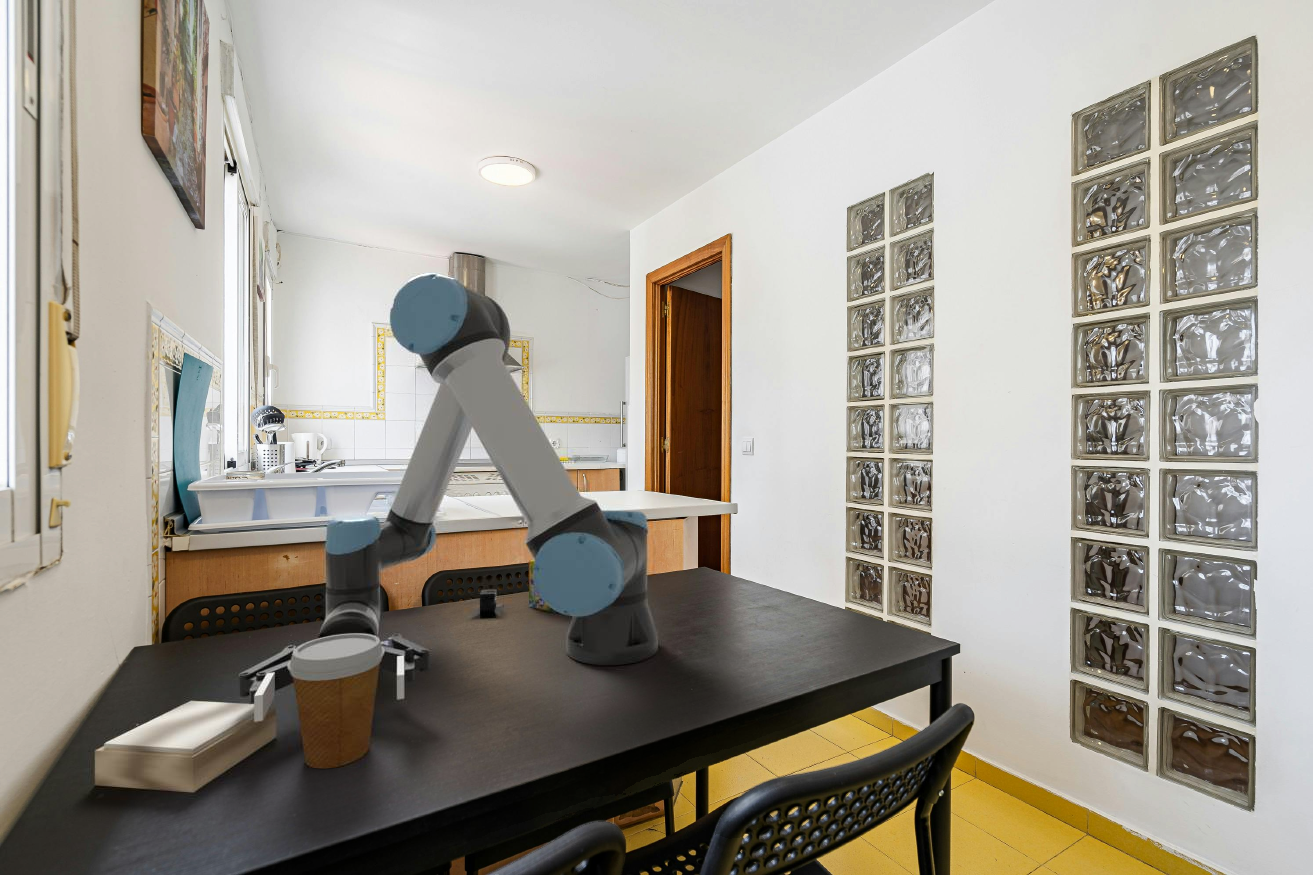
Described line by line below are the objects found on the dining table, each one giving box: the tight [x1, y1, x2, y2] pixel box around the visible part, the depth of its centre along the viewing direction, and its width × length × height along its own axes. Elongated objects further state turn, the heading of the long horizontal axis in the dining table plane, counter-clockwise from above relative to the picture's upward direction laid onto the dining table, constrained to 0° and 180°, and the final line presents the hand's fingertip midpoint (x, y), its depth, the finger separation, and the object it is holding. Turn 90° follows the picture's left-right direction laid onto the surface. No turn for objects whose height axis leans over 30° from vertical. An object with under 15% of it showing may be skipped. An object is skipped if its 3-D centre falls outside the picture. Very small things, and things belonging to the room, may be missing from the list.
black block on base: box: [471, 588, 504, 620], centre depth 122 cm, size 12×7×5 cm, turn 10°
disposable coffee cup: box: [287, 633, 384, 769], centre depth 67 cm, size 10×10×12 cm
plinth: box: [94, 700, 277, 793], centre depth 66 cm, size 11×11×4 cm
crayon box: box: [528, 558, 557, 613], centre depth 124 cm, size 7×3×12 cm, turn 55°
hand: (332, 697), depth 65 cm, fingers open, 13 cm apart
